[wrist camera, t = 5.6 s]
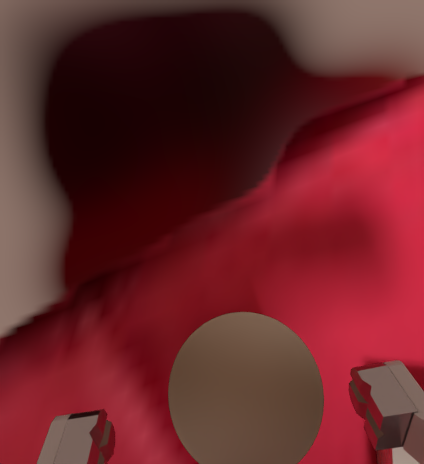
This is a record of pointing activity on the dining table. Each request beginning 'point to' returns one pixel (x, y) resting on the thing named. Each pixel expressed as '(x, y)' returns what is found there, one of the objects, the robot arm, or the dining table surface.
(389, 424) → the robot arm
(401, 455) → the grey block with recess
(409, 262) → the dining table surface
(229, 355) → the disc
